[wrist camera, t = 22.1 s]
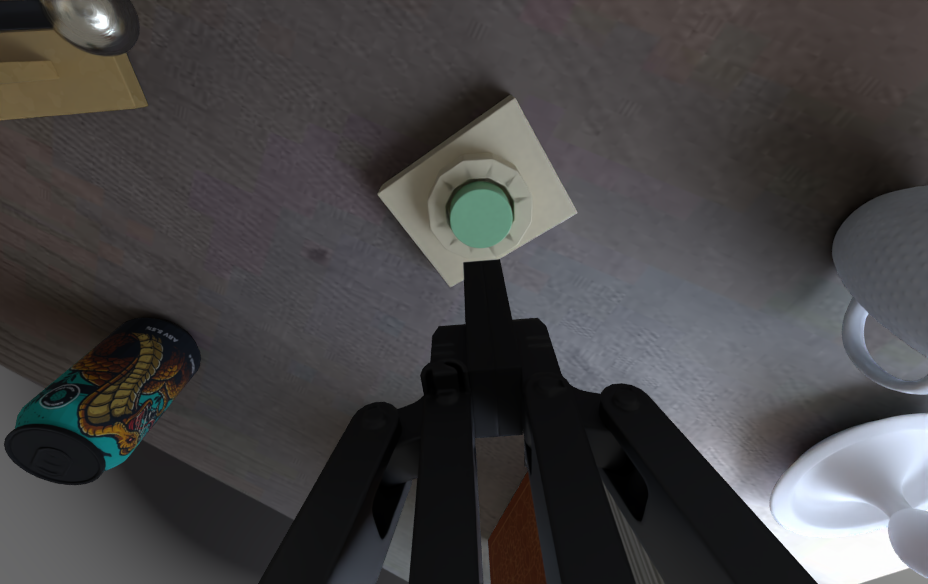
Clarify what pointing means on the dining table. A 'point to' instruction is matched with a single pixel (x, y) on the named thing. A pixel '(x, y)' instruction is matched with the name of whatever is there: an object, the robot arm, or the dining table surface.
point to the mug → (886, 277)
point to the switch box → (470, 160)
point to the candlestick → (863, 486)
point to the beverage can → (103, 403)
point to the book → (520, 552)
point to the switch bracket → (61, 78)
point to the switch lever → (77, 22)
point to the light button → (480, 215)
